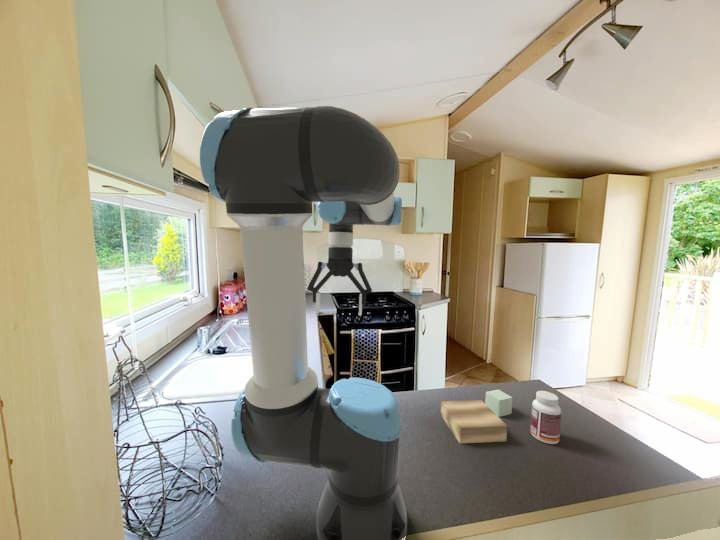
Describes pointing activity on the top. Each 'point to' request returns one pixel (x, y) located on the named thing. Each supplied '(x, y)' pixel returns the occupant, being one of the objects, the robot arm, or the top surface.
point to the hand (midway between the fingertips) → (338, 313)
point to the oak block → (473, 421)
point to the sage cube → (499, 402)
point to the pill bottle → (546, 417)
